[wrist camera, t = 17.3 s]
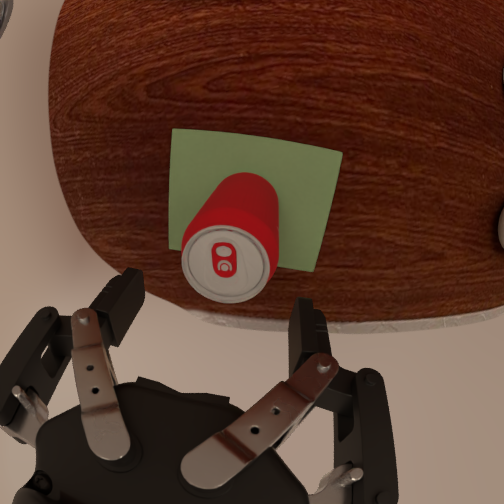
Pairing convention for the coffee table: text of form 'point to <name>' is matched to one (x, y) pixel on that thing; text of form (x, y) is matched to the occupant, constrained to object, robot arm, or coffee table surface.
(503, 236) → the decorative stone
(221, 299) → the beverage can
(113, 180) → the coffee table surface
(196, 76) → the coffee table surface
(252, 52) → the coffee table surface
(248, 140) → the pad
